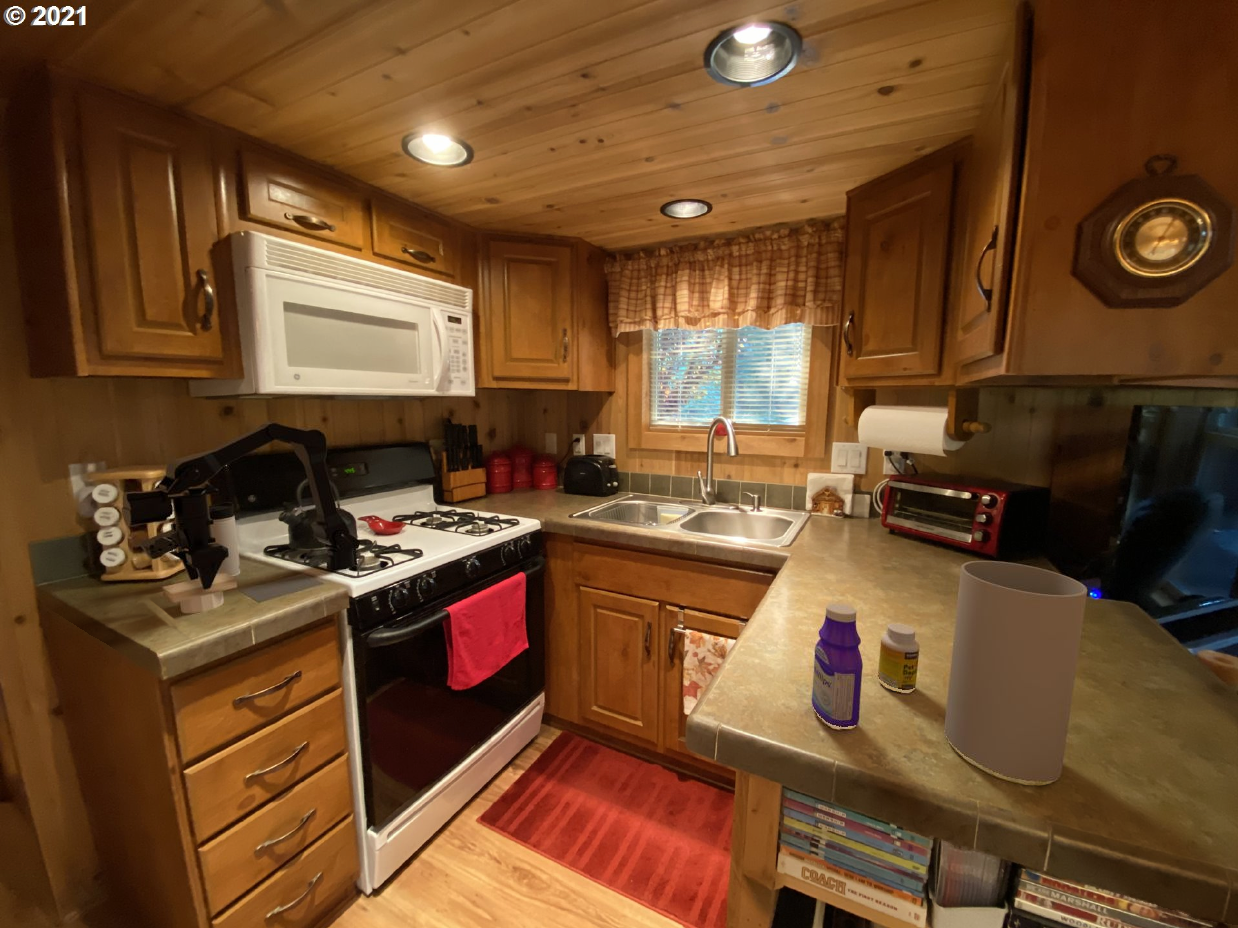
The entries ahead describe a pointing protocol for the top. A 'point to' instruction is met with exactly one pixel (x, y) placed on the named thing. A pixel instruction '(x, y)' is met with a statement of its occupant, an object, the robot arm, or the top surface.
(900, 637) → the supplement bottle
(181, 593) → the birch board
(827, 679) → the bottle
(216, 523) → the travel mug
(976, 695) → the cylinder vase
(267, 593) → the rubber mat
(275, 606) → the top surface
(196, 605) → the ceramic bowl
